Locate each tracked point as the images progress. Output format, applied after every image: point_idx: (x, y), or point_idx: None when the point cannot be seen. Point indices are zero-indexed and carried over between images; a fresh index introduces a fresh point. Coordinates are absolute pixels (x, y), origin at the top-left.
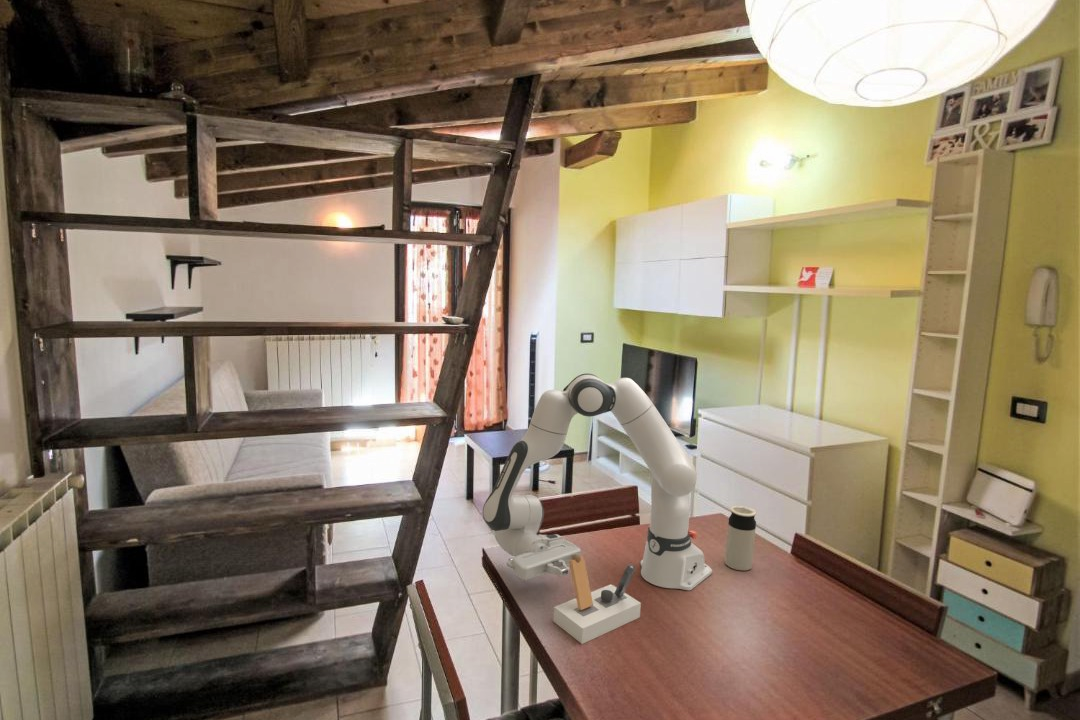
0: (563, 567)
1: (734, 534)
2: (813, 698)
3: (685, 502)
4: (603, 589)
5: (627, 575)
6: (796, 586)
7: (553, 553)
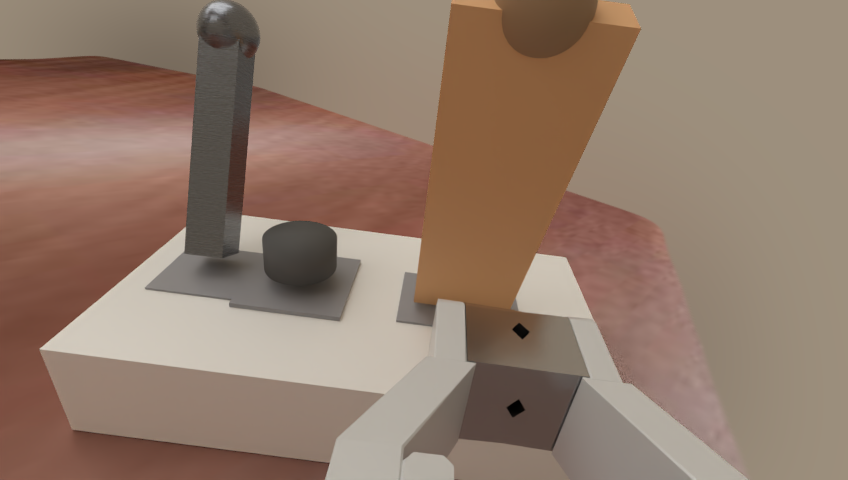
0: (506, 339)
1: None
2: (290, 107)
3: None
4: (165, 345)
5: (250, 71)
6: None
7: None
